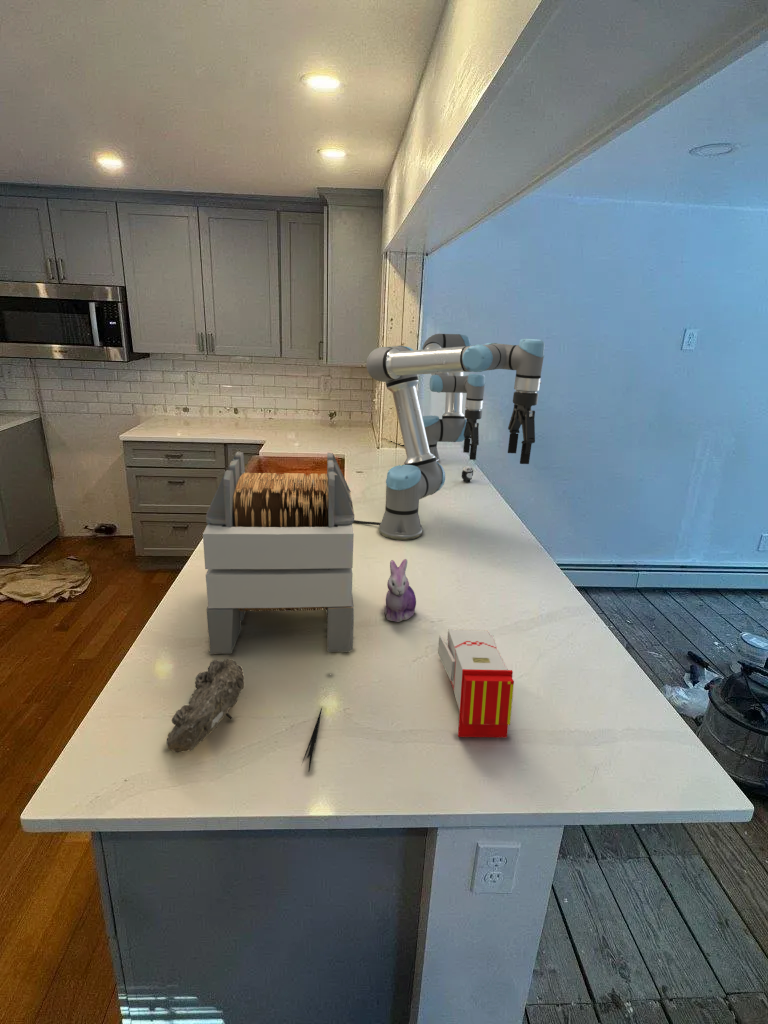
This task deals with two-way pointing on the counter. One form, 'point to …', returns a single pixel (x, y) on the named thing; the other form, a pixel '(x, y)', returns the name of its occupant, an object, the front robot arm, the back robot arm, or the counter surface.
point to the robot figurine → (467, 474)
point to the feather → (313, 740)
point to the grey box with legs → (279, 550)
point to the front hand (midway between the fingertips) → (517, 458)
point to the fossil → (206, 705)
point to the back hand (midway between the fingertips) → (469, 456)
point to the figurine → (399, 594)
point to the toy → (478, 682)
